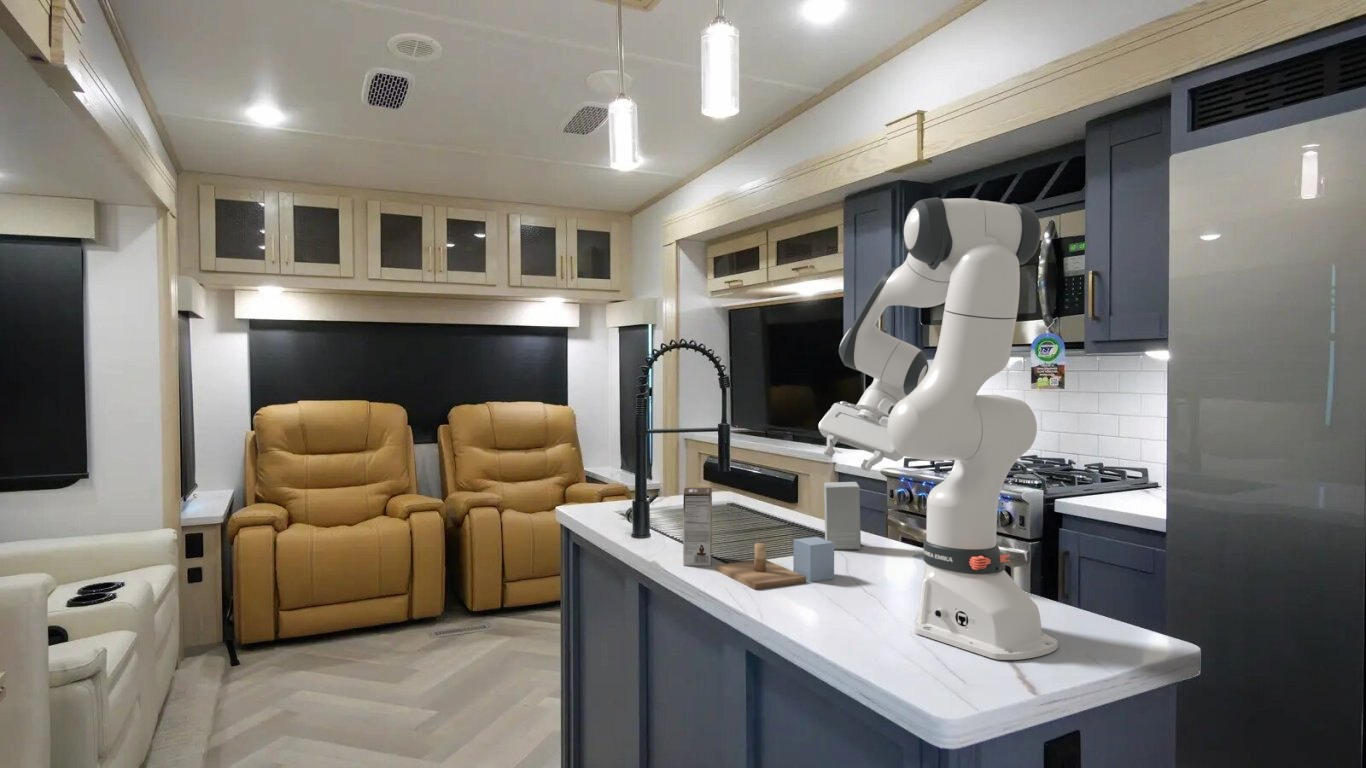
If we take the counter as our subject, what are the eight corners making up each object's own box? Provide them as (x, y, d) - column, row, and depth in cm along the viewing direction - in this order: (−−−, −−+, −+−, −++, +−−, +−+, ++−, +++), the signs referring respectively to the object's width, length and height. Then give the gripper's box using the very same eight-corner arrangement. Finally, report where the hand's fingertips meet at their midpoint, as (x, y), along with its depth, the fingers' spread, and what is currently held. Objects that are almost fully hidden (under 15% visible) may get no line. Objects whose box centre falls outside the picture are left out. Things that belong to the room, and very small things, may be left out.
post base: (806, 582, 153) (806, 549, 153) (755, 589, 148) (755, 555, 148) (764, 564, 168) (764, 534, 168) (716, 570, 163) (716, 539, 162)
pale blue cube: (834, 578, 157) (834, 542, 156) (810, 582, 154) (810, 545, 154) (816, 571, 162) (817, 536, 162) (793, 574, 159) (793, 539, 159)
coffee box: (683, 556, 175) (684, 486, 175) (711, 556, 175) (711, 487, 175) (682, 566, 166) (683, 493, 166) (711, 566, 166) (712, 493, 166)
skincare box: (857, 544, 188) (857, 481, 187) (861, 551, 181) (861, 485, 180) (822, 543, 189) (823, 480, 188) (825, 550, 181) (825, 484, 181)
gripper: (832, 391, 170) (801, 440, 166) (914, 415, 157) (882, 469, 152) (841, 407, 175) (810, 455, 170) (922, 432, 161) (891, 485, 157)
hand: (845, 462), depth 161 cm, fingers open, 8 cm apart
